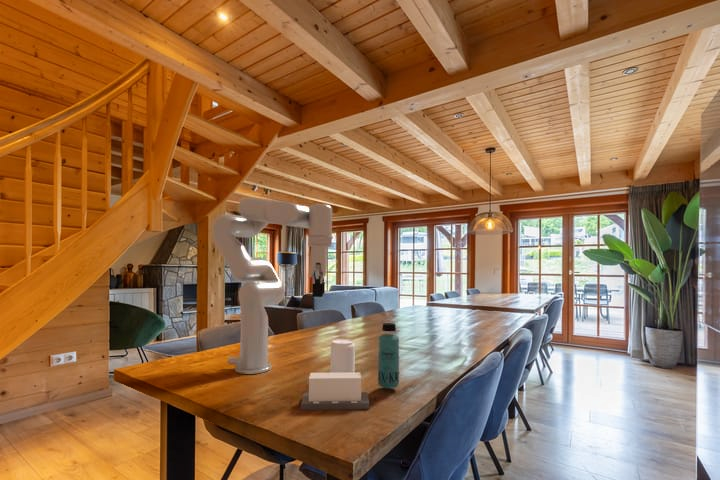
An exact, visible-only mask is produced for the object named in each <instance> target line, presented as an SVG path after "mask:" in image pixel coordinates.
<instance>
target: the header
mask: <svg viewBox="0 0 720 480" xmlns="http://www.w3.org/2000/svg"><path fill="white" fill-rule="evenodd" d="M301 398H302V399H301V402H300V411H307V410H308V411H313V410H315V411H316V410H317V411H319V410H321V411H324V410H327V411H328V410H369V409H370V400H369V395H368V391H361V401H316V402H309V392H303V395H302V397H301Z"/></svg>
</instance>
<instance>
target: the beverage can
mask: <svg viewBox="0 0 720 480" xmlns="http://www.w3.org/2000/svg"><path fill="white" fill-rule="evenodd" d="M355 351H356V345H355V343H354V340H352V339H348V338H338V339H332V342H331V344H330V373H342V372H355V367H356V366H355V365H356V364H355V362H356V361H355V360H356V359H355V358H356V357H355V356H356V353H355Z"/></svg>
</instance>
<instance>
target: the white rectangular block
mask: <svg viewBox="0 0 720 480" xmlns="http://www.w3.org/2000/svg"><path fill="white" fill-rule="evenodd" d="M361 392H362V374H361V372H360V371H359V372H342V373H331V372H310V373H309V377H308V393H309V402H316V401H361Z"/></svg>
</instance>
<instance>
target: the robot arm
mask: <svg viewBox="0 0 720 480" xmlns="http://www.w3.org/2000/svg"><path fill="white" fill-rule="evenodd" d="M237 210H238V213H239V215H237V214H221V215H219V216H217V217H216V218H215V219H214V221H213V223H212V238H213V241H214V243H215V245H216V247H217V248H218V250H219V251H220V252H221V254H222V256H223V258H224V260H225V262H226V264H227V266H228V268H229V270H230V273H231V275H232V277H233V278H234V280H235V281H236V282H238V283H243V284H242V285H241V286H240V288H239V290H238V301H239V306H240V307H239V308H240V342H239V343H240V345H239V347H240V348H239V356H236V357H234V356H233V357H231V356H230V357H228V358H227V363H228V364H229V365H236V366H234V372H235V373H237V374H242V375H255V374H263V373H265V372H269V371H270V370H271V369H272V367H273V366H272V364H271V362H268V349H269V346H268V344H269V343H268V342H269V316H268V314H267V313H268V312H267V311H266V308H265V307H266V306H267V307H268V306H273V305H274V306H275V305H278V304H280V303H281V302H282V301H283V299H284V297H285V287H284V285H283V283H282V281H281V279H280V278H279V276H278V274H277V272H276V270H275V268H274V267H273V265H272V263H271V262H270V261H269V260H268V259H265V258H263V257H252V256H251V255H250V254H249V252H248V250H247V248H246V246H245V245H244V243H242V242H241V241H240V240H239V239H238V238H246V239H249V238H254V237H256V236H257V235H258V234H259V233H261V231H263V229H265V228H266V227H267V226H268V225H269V224H271V225H272V224H277V225H280V226H281V225H282V226H286V227H296V228H302V229H308V241H307V242H308V243H307V244H308V245H307V246H308V247H310V255H309V256H310V257H309V258H310V260H309V261H310V262H309V277H310V278H312V279H313V280H312V290H311V291H312V294H311V296H312V298H322V297H324V296H323V295H324V294H325V291H326V290H325V287H326V286H325V285H326V283H325V277H326V276H327V270H328V252H329V250H328V249H329V248H332V241H333V239H332V238H333V233H332V232H333V207H332V206H331V205H329V204H325V203H314V204H312V205H310V206H308V205H304V204H300V203H294V202H289V201H279V200H275V199H270V198H269V199H268V198H262V197H254V196H253V197H252V196H250V197H249V196H248V197H245V198H242V200H240V202H238V207H237Z"/></svg>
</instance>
